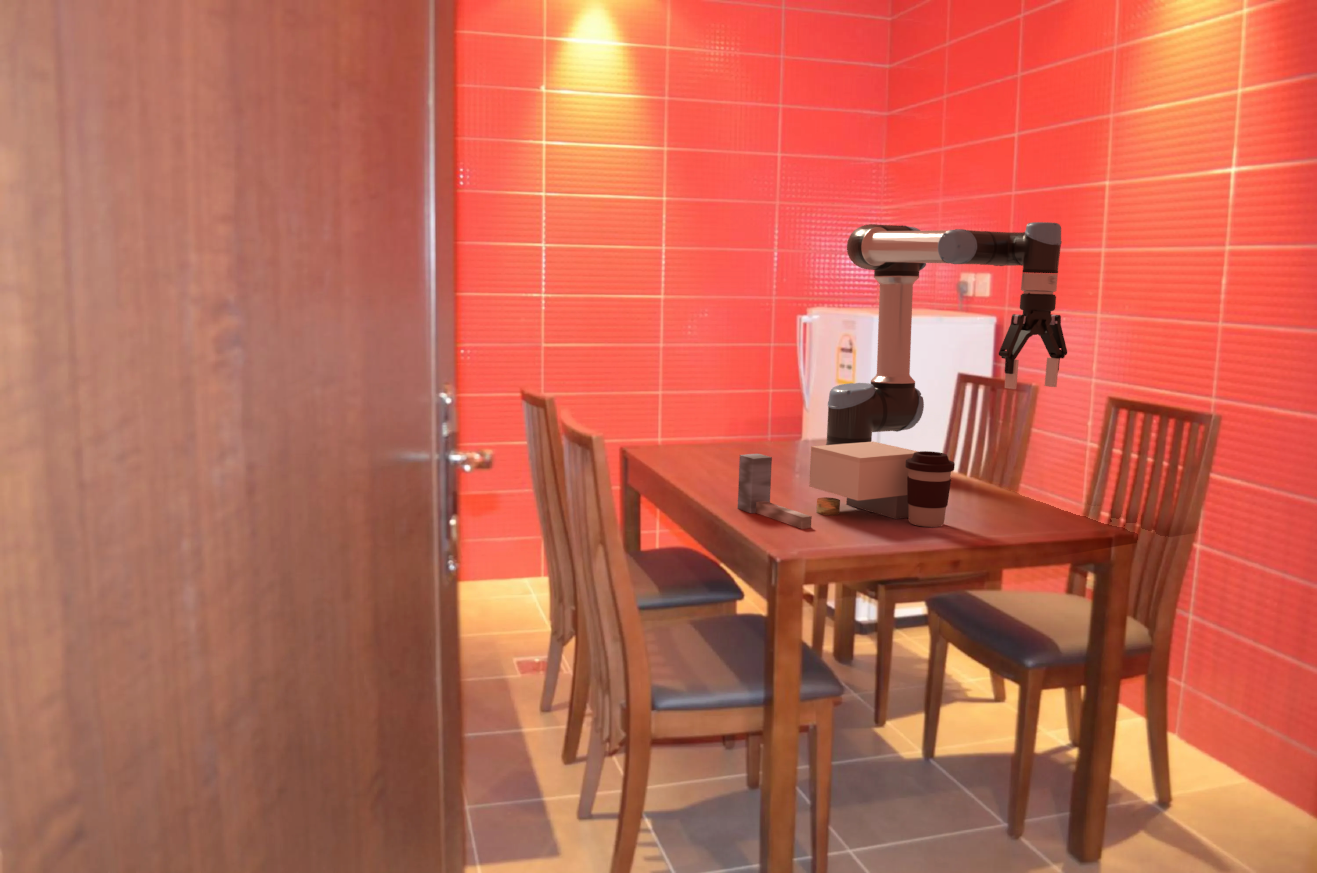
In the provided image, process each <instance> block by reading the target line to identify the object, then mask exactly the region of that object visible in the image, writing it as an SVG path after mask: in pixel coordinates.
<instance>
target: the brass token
mask: <svg viewBox="0 0 1317 873" xmlns="http://www.w3.org/2000/svg"><path fill="white" fill-rule="evenodd" d="M840 510H841V499H839V498H836V497H829V496H828V497H818V498H816V514H819V515H822V516H838V515H840V512H841V511H840Z"/></svg>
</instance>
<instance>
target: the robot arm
mask: <svg viewBox="0 0 1317 873" xmlns="http://www.w3.org/2000/svg"><path fill="white" fill-rule="evenodd" d="M1062 243H1063V242H1062V225H1061V224H1059V223H1057V222H1051V221H1050V222H1043V221H1040V222H1039V221H1038V222H1036V221H1035V222H1028V223H1027V224H1026V226H1025V230H1024V232H1023V231H1022V232H1021V231H1020V232H1010V231H1009V232H1007V231H1005V232H1004V231H987V230H986V231H984V230H972V229H971V230H970V229H963V228H960V229H959V228H955V229H949V230H948V229H946V230H942V229H941V230H921V229H919V228H917V227H914V226H907V225H901V224H900V225H897V224H896V225H893V224H892V225H891V224H877V223H876V224H873V223H868V224H865V225H864V224H863V225H861V226H860V227H857V228H856V229H854V231H852V233H851V234H850V235H849V237H848V240H847V243H846V252H847V256H848V258H849V260H850V261H851V263H853V264H854V265H855V266H857V267H859V268H861V269H863V270H864V269H865V270H869V271H871V270H872V271H874V272H873V273H874V274H873V279H874V280H876V281H877V282H878V284H879V291H878V292H879V296H878V297H879V298H878V299H879V300H878V321H877V322H878V328H877V333H878V334H877V352H876V353H877V354H876V355H877V360H876V374H875V376H874V377H872V379H870V383H868V382H867V383H866V382H854V383H853V382H850V383H844V384H839V385H836V386H834V387H832V388H831V389H830V391H829V396H828V402H827V424H826V426H827V428H826V430H827V431H826V444H825V445H836V444H849V443H862V442H873V440H872V438H873V433H882V432H897V433H898V432H901V431H905V430H906V431H907V430H910V429H912V428H914V427H915V426H916V424H918V423H919V421H920V420H921V419H922V416H923V414H924V408H925V407H924V406H925V404H924V403H925V402H924V397H923V396H922V393H921V391H920V390H919V389H918V388H916V381H915V379H914V378H912V376H911V373H910V372H911V368H910V367H911V344H912V323H913V322H912V319H913V317H912V316H913V297H914V296H913V294H914V293H913V292H914V283H915V282H917V281H918V280H919V279H920V271H922V270H923V269H924V268H925V267H926V266H927V264H951V265H980V266H982V265H984V266H994V267H1004V266H1010V267H1012V266H1020V267H1021V266H1022V272H1021V273H1022V274H1021V284H1020V290H1021V291H1023V293H1021V294H1020V296H1019V298H1020V300H1019V309H1020V310H1021V311H1022V314H1015V313H1013V314H1012V315H1011V319H1010V325H1009V327H1008V329H1007V332H1006V334H1005V336H1004V338H1003V341H1002V344H1001V346H1000V348H999V350H998V356H999V357H1001V359H1004V360H1005V361H1004V376H1005V377H1004V389H1009V390H1017V386H1018V372H1019V359H1017V357H1018V355H1019V354H1020V353H1021V351H1022V350H1023V348H1024V346H1025V345H1026V343H1027V342H1028V340H1029V338H1031V337H1033V336H1035V335H1036V336H1037V335H1038V336H1039V337H1040V339H1041V340H1042V343H1043V345H1044V347H1045V349H1046V351H1047V354H1048V356H1049V357H1046V365H1045V366H1046V367H1045V376H1044V377H1045V378H1044V386H1045V387H1051V388H1057V385H1058V374H1059V370H1060V362H1061V359H1064V358H1065V357H1066V355H1068V349H1067V348H1068V347H1067V345H1066V340H1065V337H1064V336H1065V335H1064V333H1063V328H1062V316H1061V315H1060V314H1052V312H1054V311H1055V310H1056V305H1057V304H1056V303H1057V301H1056V300H1057V295H1056V294H1054V292H1055V293H1056V292H1057V289H1058V288H1057V287H1058V274H1059V264H1060V257H1061V256H1060V255H1061V246H1062Z"/></svg>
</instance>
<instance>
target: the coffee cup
mask: <svg viewBox="0 0 1317 873" xmlns="http://www.w3.org/2000/svg"><path fill="white" fill-rule="evenodd" d="M955 465H956V464H955V462H954V461H953V460H950V459H949V456H948V454H946V453H943V452H939V451H928V450H927V451H926V450H925V451H924V450H921V451H919V452H915V453H914V454H913V456H912V458H908V459H906V468H908V476H907V502H908V508H909V517H908V522H909V523H910V525H914V526H916V527H917V526H918V527H923V528H924V527H925V528H938V527H942V526H943V525H944V524H945V518H946V511H947V507H948V505H949V499H950V489H951V484H952V483H951V482H952V478H951V476H952V475H951V474H952V472H953V471H954V470H955Z"/></svg>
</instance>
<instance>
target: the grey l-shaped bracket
mask: <svg viewBox="0 0 1317 873" xmlns="http://www.w3.org/2000/svg"><path fill="white" fill-rule="evenodd" d="M772 459H773V458H772V456H770V455H766V454H761V453H748V454H739V465H738V467H739V468H738V487H737V488H738V491H737V509H738V510H740V511H743V512H747V513H748V514H749V513H750V514H758V515H761V516H764V517H766V518H769V519H773V520H775V521H778V522H781V523H784V524H787V525H789V526H792V527H795V528H799V529H800V530H805V529H811V528H812V516H811V515H809V514H805V513H803V512H800V511H797V510H794V509H791V508H788V507H785V506H781V505H778V504H775V503H772V502H771V490H772V487H771V486H772V485H771V483H772V464H773V463H772V461H773V460H772Z"/></svg>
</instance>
